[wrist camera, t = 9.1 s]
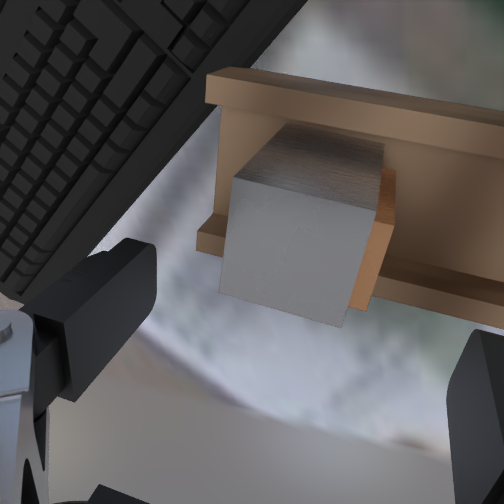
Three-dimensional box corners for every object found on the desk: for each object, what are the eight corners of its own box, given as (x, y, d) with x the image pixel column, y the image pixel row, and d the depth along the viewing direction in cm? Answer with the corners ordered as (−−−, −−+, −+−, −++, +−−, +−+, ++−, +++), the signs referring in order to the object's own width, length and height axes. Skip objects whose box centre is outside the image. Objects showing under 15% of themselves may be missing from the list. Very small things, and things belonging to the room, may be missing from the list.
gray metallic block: (286, 122, 18) (232, 177, 12) (400, 146, 18) (399, 216, 12) (271, 210, 20) (219, 292, 14) (372, 235, 20) (360, 333, 14)
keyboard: (44, 309, 30) (23, 327, 29) (-86, 194, 29) (-116, 206, 27) (411, -114, 15) (412, -129, 13) (177, -411, 13) (145, -471, 12)
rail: (863, 173, 15) (1250, 312, 8) (717, 343, 19) (897, 535, 12) (232, 65, 19) (139, 97, 12) (218, 223, 23) (141, 315, 16)
